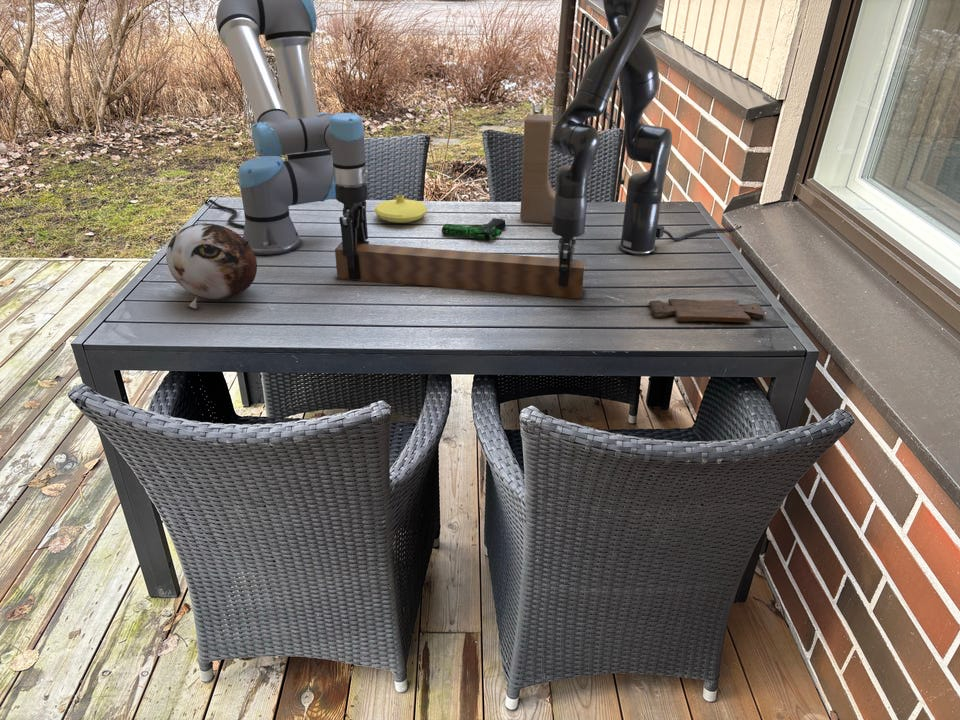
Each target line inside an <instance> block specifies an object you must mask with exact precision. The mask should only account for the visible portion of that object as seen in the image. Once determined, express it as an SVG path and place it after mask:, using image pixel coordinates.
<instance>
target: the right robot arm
mask: <svg viewBox="0 0 960 720" xmlns="http://www.w3.org/2000/svg"><path fill="white" fill-rule="evenodd" d="M659 2H660V0H602V5H603V10H604V14H605V17H606V22H607V25H608V29H609V32H610V37H611V40H612V41H611V42H609V44H608V45H607V46H606V47H604V49H602V50H601V52H600V53H599V52H598V54H597V55H596V56H595V57H594V58H593V59H592V61H590V63H589V65H588V66H587V67H586V69H585V71H584V73H583V75H582V78H581V80H580V83H579V85H578V88H577V91H576V93H575V96H574V98H573V100H571V102H570V103H569V105H567V108H566V109H565V110H564V112H563V113H562V115H561V116H560V118H559V119H558V120H557V122H556V123H555V125H554V127H553V130H552V132H551V146H552V148H553V149H554V150H555V151H556V152H557V153H559V154H563V155H567V156H570V157H572V158H573V160H572V163H571V164H565V165H562V166H560V167H559V168H558V170H557V171H556V178H555V191H556V193H555V199H554V206H553V221H552V223H551V232H552V233H553V234H554V235H556V236H559V238H558V244H557V250H558V255H557V258H558V261H559V268H558V270H559V272H560V274H559V286H565V287H566V286H568V280H569V272H570V263H571V262H572V261H573V259H574V254H575V250H576V245H577V244H576V243H577V238H578V237H581V236H583V234H585V228H586V220H587V219H586V218H587V207H588V199H587V198H588V197H587V196H588V195H587V194H588V185H589V176H590V173H591V170H592V168H593V165H594V163H595V159H596V157H597V154H598V151H599V148H600V135H599V132H598V130H597V129H596V128H595V126H593V125H589V124H585V121H587V120H588V119H590V118H594V117H600V116H602V115H603V114H604V112H605V110H606V108H607V105H608V103H609V101H610V98H611V96H612V93H613V91H614V89H615V86H616V83H617V81H618V84H619V91H620V96H621V103H622V108H623V117H624V118H623V119H624V136H625V137H624V141H625V151H626V155H627V157H628V158H629V159H630V160H631V161H635V162H639V163H644V164H651V165H650V168H649V170H646V171H643V172H637V173H634V174H632V175H631V174H630V176H629V178H628V181H627V187H626V197H625V203H624V204H625V205H624V211H623V213H624V214H623V222H622V230H621V237H620V243H619V249H620V250H621V251H622V252H624V253H627V254H630V255H635V256H646V255H650V254H653V253H654V252H655V248H656V240H657V239H661V238H663V236H664V234H666V235H667V236H668V237H669V239H671V240H672V241H674V242H680V241H682V240H685V239H686V238H688V237H691V236H695V235H698V234H702V233H708V232H729V231H731V230H733V229H734V228H730V227H731V226H729V227H725V228H723V227H722V228H704V229H698V230H695V231H692V232H689V233H686V234H684V235H682V236H680V237H674V236H673V235H672V234H671V232H670V231H668V230H666V229H665V226H663V225H659V219H660V212H661V205H662V198H663V191H664V185H665V181H666V177H667V172H668V171H667V169H668V165H669V159H670V156H671V150H672V144H673V133H672V130H671V129H670V128H668V127H664V126H657V125H651V124H646V123H644V121H643V115H644V113H645V111H646V110H647V108H648V107H649V105H650V104H651V103H652V102H653V100H654V99H655V97H656V95H657V94H658V91H659V88H660V72H659V62H658V59H657V56H656V54H655V52H654V50H653V48H652V47H651V46H650V44H649V43H648V41H647V40H646V39H645V37H644V36H643V34H644V32H645V30H646V28H647V27H648V25H649V23H650V21H651V20H652V19H653V16H654V14H655V12H656V10H657V7H658V5H659ZM562 264H563V265H568V267H562Z"/></svg>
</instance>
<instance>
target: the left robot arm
mask: <svg viewBox="0 0 960 720" xmlns="http://www.w3.org/2000/svg"><path fill="white" fill-rule="evenodd" d="M215 25H216V30H217V34H218V36H219V39H220V41H221V43H222V45H224V46H225V47H226V48H228V51H229V53H230V56H231V59H232V61H233V63H234V66H235V69H236V72H237V75H238V77H239V81H240V82H241V85H242V87H243V91H244V93H245V96H246V98H247V101H248V103H249V106H250V108H251V111H252V114H253V116H254V119H255V123H253V124H252V126H251V139H252V142H253V147H254V149H255V151H256V153H257V154H258V155H259V156H258V157H253V158H251V159H248V160H245V162H243V163H241V165H240V166H239V167H238V170H237V174H238V186H239V190H240V196H241V201H242V208H243V212H244V213H243V215H244V219H245V220H244V224H241V223H236V222H234V221H232V220H233V219H235V218H236V217H237V215H238V211H237V210H236V209H235V208H232V207H229V206H224V205H221V204H220V203H218V202H216V201H214V200H213V199H210V198H208V199H205V201H204V205H208V204H209V203H210V204H212V205H213V206H215V207H216V208H217V209H218V208H219V209H221V210H224V211H230V212H231V213H232V215H231V216H229V218H228V219H227V222H228V224H229V225H230V226H233V227H237V228H241V229H243V235H242V237H243V238H244V239H245V240H246V241H249V242H248V244H249V245H250V247H251V248H252V250H253V252H254V254H255V256H256V255H257V256H275V255H281V254H282V255H283V254H285V253H289V252H291V251H293V250H296V249H297V248H298V247H299V246H300V244H301V241H300V235H299V233H298V231H297V229H296V227H295V225H294V223H293V220H292V218H291V216H290V207H291V206H297V205H304V204H310V203H317V202H325V201H328V200H333V199H335V200H336V201H337V202H339V203H341V204H343V208H342V216H339V217H338V218H339V219H338V220H339V225H340V232H341V233H340V234H341V242H342V246H343V255H344V256H347V262H348V273H349V279H354V280H353V281H361V280H360V267H359V255H358V254H357V243H361V244H370V240H368V239H369V233H368V221H367V220H368V219H367V218H368V217H367V200H368V198H369V192H368V191H369V190H368V184H367V180H368V179H367V175H368V174H369V170H368V169H366V168H367V167H366V165H367V164H366V148H365V145H366V144H365V129H364V123H363V119H362V117H361V116H360V115H359V114H356V113H352V112H340V113H334V114H333V113H331V112H321V113H319V107H318V101H317V96H316V91H315V85H314V84H315V83H314V79H313V73H312V67H311V60H310V55H309V49H308V46H309V45H310V43H311V41H312V40H313V38H312V34H313V33H315V32H316V30H317V28H318V27H317V26H318V23H317V13H316V8H315V3H314V1H313V0H220V1H219V3H218V6H217V9H216V14H215ZM260 36H264V39H265V43H266V45H267V46H268V47H270V48H271V49H272V51H273V54H274V61H275V65H276V69H277V71H276V72H277V76H278V81H279V86H280V89H279V87H278V84H277V82H276V80H275V77H274V75H273V72H272V69H271V67H270V64H269V61H268V59H267V57H266V54H265V51H264V49H263V46H262V44H261V41H260V39H259V38H260ZM284 155H285V156H286V157H287V160H283V158H282V157H281V156H284ZM209 199H210V200H209ZM208 200H209V201H208ZM207 201H208V202H207ZM349 279H348V280H349Z"/></svg>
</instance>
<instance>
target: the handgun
mask: <svg viewBox="0 0 960 720" xmlns="http://www.w3.org/2000/svg"><path fill="white" fill-rule="evenodd" d="M505 228H506V220H505V219H503V218H497V217H492V219H491V220H490V221H489V222H488V223H483V224H482V225H479V224H472V225H459V224H453V223H445V224H443V226H442V227H441V235H446V236H454V237H462V238H469V239H470V238H471V239H474V240H479V241H484V242H491V241H492V240H494V239H495V238H497V237H500V236H502V230H504V229H505Z"/></svg>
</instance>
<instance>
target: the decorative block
mask: <svg viewBox="0 0 960 720" xmlns="http://www.w3.org/2000/svg"><path fill="white" fill-rule="evenodd" d="M523 124H524V125H523V147H522V167H521V168H522V170H521V190H520V191H521V192H520V193H521V194H520V210H519V211H520V214H519V215H520V216H519V221H520V222H525V223H541V224H552V221H553V206H554V199H555V193H556V189H555V188H552V187H553V186H552V185H551V180H550V176H549V175H550V161H551V160H550V159H551V147H552V132H553V130H552V129H553V127H552V126H553V116H552V115H551V114H549V115H548V114H526V116H525V119H524V123H523Z"/></svg>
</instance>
